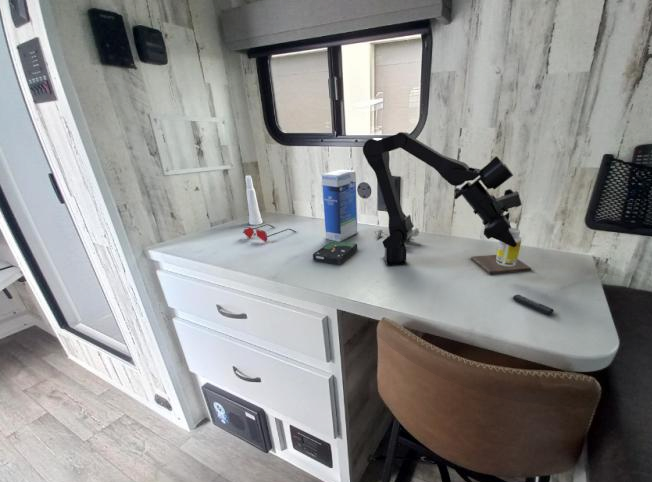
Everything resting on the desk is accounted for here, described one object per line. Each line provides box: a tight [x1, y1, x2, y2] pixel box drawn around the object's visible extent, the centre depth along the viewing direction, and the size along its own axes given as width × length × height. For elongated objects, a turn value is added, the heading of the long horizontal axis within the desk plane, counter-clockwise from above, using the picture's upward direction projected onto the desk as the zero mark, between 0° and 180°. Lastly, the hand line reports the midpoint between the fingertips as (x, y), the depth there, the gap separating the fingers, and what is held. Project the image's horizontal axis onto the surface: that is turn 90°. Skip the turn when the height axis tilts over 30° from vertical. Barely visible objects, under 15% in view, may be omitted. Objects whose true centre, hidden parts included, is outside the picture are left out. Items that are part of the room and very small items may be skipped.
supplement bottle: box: [496, 227, 522, 267], centre depth 88 cm, size 6×6×10 cm
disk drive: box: [312, 240, 358, 265], centre depth 108 cm, size 10×3×15 cm
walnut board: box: [470, 254, 532, 275], centre depth 100 cm, size 14×12×1 cm
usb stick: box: [512, 294, 555, 316], centre depth 76 cm, size 10×3×2 cm, turn 36°
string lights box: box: [321, 169, 358, 242], centre depth 123 cm, size 13×8×26 cm, turn 150°
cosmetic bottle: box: [245, 174, 264, 226], centre depth 142 cm, size 6×6×22 cm
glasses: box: [242, 223, 297, 243], centre depth 129 cm, size 14×16×5 cm
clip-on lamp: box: [374, 227, 420, 244], centre depth 121 cm, size 12×6×18 cm
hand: (515, 242), depth 87 cm, fingers closed on supplement bottle, 5 cm apart
